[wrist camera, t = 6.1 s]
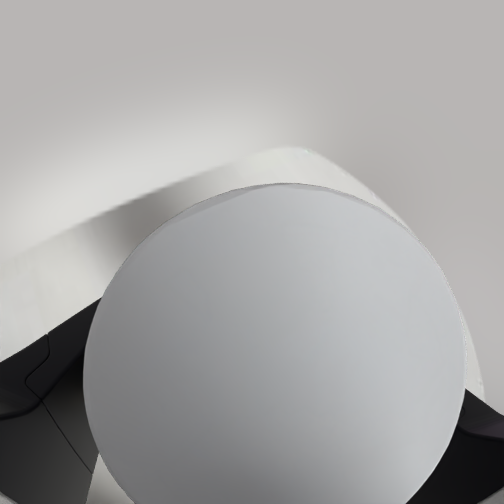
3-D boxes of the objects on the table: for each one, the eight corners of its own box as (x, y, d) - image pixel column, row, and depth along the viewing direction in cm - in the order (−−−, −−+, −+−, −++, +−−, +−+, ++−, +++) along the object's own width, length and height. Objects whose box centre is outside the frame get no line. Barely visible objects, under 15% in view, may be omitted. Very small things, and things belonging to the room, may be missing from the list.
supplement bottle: (160, 285, 16) (33, 128, 3) (288, 278, 17) (459, 133, 4) (171, 415, 14) (78, 591, 2) (300, 403, 15) (493, 509, 3)
